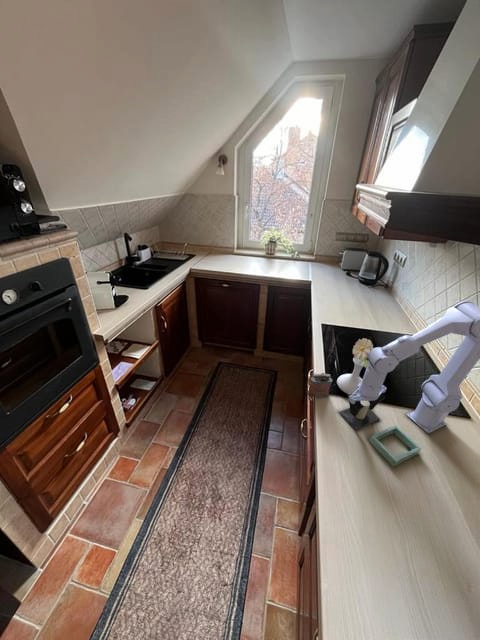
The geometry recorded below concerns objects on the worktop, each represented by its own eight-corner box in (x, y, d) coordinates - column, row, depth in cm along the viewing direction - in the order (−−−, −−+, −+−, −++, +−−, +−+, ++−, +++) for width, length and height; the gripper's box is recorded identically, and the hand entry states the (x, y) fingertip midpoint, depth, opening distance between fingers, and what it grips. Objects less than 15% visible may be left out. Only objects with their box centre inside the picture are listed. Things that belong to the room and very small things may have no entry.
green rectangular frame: (393, 430, 85) (395, 425, 83) (418, 453, 78) (421, 448, 76) (369, 441, 81) (371, 436, 80) (393, 466, 74) (396, 461, 73)
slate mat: (362, 403, 94) (362, 402, 94) (379, 419, 88) (379, 418, 88) (339, 412, 90) (339, 411, 90) (355, 430, 84) (355, 428, 84)
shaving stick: (359, 410, 91) (364, 397, 88) (366, 417, 88) (372, 404, 85) (352, 412, 90) (356, 400, 86) (359, 420, 87) (364, 407, 84)
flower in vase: (335, 375, 107) (349, 325, 95) (364, 381, 105) (382, 330, 92) (337, 398, 96) (353, 344, 84) (369, 405, 94) (391, 350, 81)
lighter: (326, 390, 99) (331, 371, 94) (329, 397, 96) (335, 377, 92) (306, 390, 99) (310, 371, 94) (308, 397, 96) (313, 377, 91)
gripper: (378, 368, 87) (367, 397, 94) (345, 379, 82) (336, 408, 88) (396, 382, 81) (383, 411, 88) (362, 394, 76) (351, 424, 83)
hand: (361, 411), depth 88 cm, fingers open, 7 cm apart
